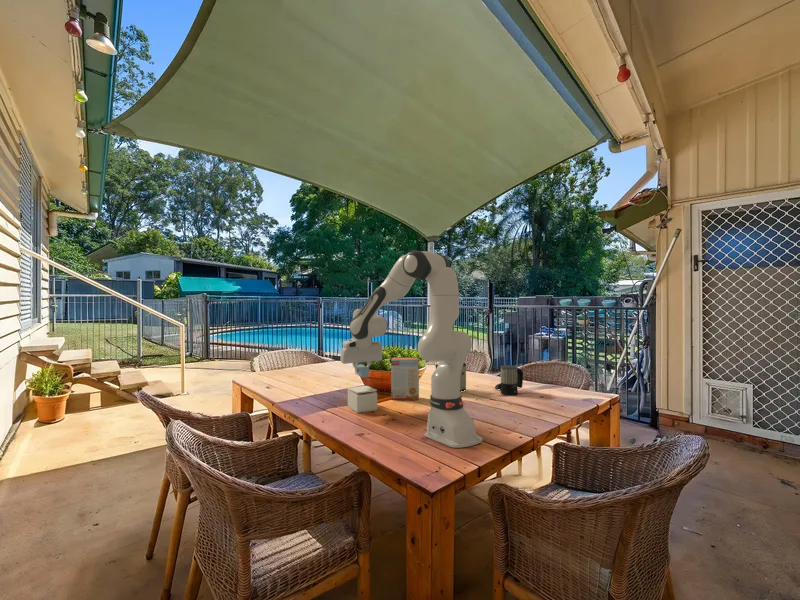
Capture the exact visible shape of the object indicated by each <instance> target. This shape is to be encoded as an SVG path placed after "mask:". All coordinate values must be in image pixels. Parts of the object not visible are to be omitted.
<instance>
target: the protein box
mask: <svg viewBox="0 0 800 600" xmlns="http://www.w3.org/2000/svg"><path fill="white" fill-rule="evenodd" d="M438 364H439V363H437V364H435V369H436V368H437V366H438ZM464 390H466V391H467V363H466V362H464V364H463V368H462V372H461V379H460V392H461V391H464ZM464 392H465V391H464ZM461 393H462V392H461Z"/></svg>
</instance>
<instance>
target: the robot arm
mask: <svg viewBox="0 0 800 600" xmlns="http://www.w3.org/2000/svg"><path fill="white" fill-rule="evenodd" d="M416 279H417V280H420V281H425V280H426V281H427V282H428V284H429V299H430V300H429V301H430V302H429V304H430V305H429V306H430V309H429V312H430V313H429V320H428V324H427V327H426V330H425V332H424V334H423V335H422V336H421V337H420V338H419V340H418V343H417V352H418V354H419V356H420V358H421V359H422V360H423V361H425V362H431V363H437V364H438V366H437V368H436V367H435V370H434V371H433V372H432V373H431V378H430V379H431V385H430V386H431V389H430V391H431V393H430V396H429V397H430V398H429V404H430V409H429V412H428V415H427V423H426V431H425V432H424V437H426V438H428V439H430V440H433V441H434V442H435V441H436V442H438V443H440V444H443V445H445V446H448V447H450V448H451V449H452V448H454V449H457V448H459V449H461V448H466V447H471V446H476V445H478V444H480V443H483V441H484V440H483V437H482V436H481V435H479V434H478V433H477V432H476V430H477V429H476V424H475V422H474V419H473V418H471V417H470V415H469V414H468V413H467V411H466V410H465V408H464V405H465V400H463V399H462V396H461V393H460V379H461V372H462V368H463V364H464V363H465V361H466V358H467V356H468V355H469V353H470V352H471V350H472V348H473V341H472V339H471V337H470V335H469V334H468V333H466V332H464V331H462V330H461V331H459V330H453V327H454V324H455V322H456V320H457V319H458V318H459V317H460V293H459V291H460V290H459V282H458V277H457V273H456V271H455V270H454V269H453V268H452V267H450V261H449V260H448V258H447V257H446V256H444V255H443V254H439V253H434V252H431V251H425V250H423V251H422V250H413V251H409V252H408V253H406V254H403V255H401V256H400V257H399V258H398V260H396V262H395V263H394V264H393V267H392V268H391V269H390V271H389V273H388V274H387V276H386V278H385V279H384V281H382V283H381V284H380V285H379V286H378V287H377V288H375V289H374V291H373V292H372V293H371V295H370V296H369V298H368V299H367V300H366V302H365V303H364V305H363V306H362V307H359V308H356V309H354V311H353V315H352V319H351V321H350V323H349V332H350V334H351V335H352V337H351V338H350V339H347V340H344V341H343V342H342V346H343V347H342V348H341V350H340V357H339V358H340V363H341V364H344V365H346V364H347V365H348V364H352V366H353V368H354V373H355V372H359V368H357V367H356V365H358V363H366V364H367V365H366V367H368V368H369V369H370V367H371V365H372V362H379V361H382V360H383V351H382V349H383V344H382V342H381V341H378V340H377V341H372V338H376V337H382V336H384V335H385V334H387V333H386V332H387V331H388V322H387V319H386V318H385V317H384V316H382V315H379V314H377V313H378V311H379V309H381V307H383V306H384V305H386V304H389V303H391V302H394V301H398V300H401V299H403V298H404V297H405V296H406V295H407V294H408V293H409V291H410V290H411V288H412V286H413V285H414V283H415V281H416Z"/></svg>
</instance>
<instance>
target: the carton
mask: <svg viewBox="0 0 800 600" xmlns="http://www.w3.org/2000/svg"><path fill="white" fill-rule="evenodd" d="M347 408H349V409H350V410H352V411H353V412H355V413H356V414H361V412H363V413H369V412H373V411H378V392H377V391H374V392H366V393H359V394H357V393H355V392H353V391H351V390H349V389H347Z"/></svg>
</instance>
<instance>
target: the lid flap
mask: <svg viewBox="0 0 800 600" xmlns="http://www.w3.org/2000/svg"><path fill="white" fill-rule="evenodd" d="M347 390H351V391H353V392H355V393H357V394H359V393H366V392H374V391H375V392H377V391H378V390H377V389H376V388H373V387H371V386H369V385H360V386H353V387H348V388H347Z"/></svg>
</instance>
